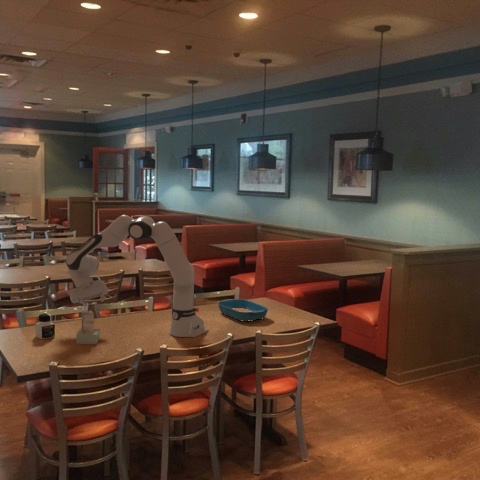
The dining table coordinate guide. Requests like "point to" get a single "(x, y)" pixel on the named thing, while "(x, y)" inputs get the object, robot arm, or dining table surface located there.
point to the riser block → (87, 337)
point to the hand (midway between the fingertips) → (94, 303)
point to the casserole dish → (256, 309)
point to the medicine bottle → (45, 327)
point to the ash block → (87, 322)
